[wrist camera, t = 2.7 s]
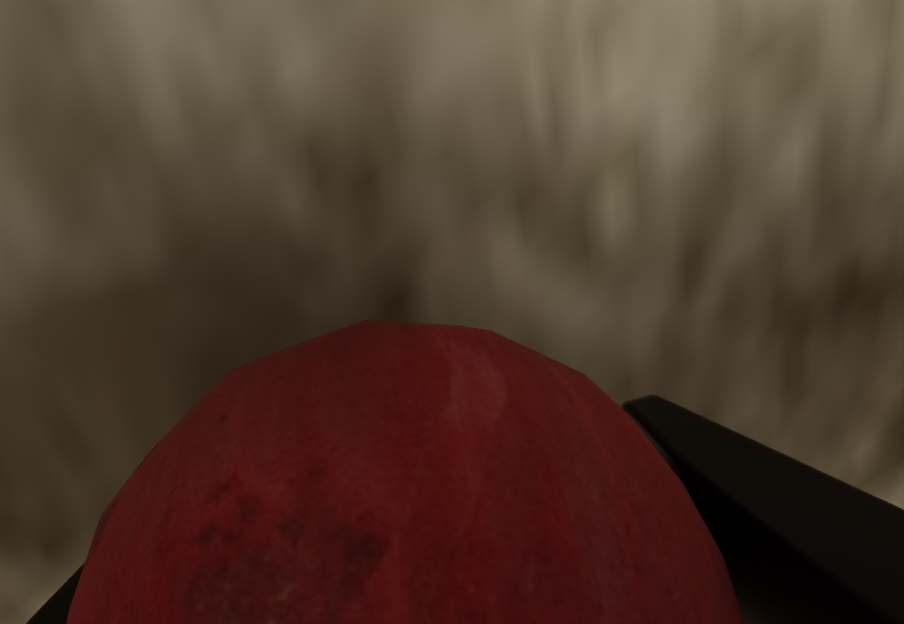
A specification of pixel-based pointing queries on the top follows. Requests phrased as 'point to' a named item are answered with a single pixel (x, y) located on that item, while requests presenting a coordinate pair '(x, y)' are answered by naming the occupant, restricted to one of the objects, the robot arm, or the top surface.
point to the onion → (404, 498)
